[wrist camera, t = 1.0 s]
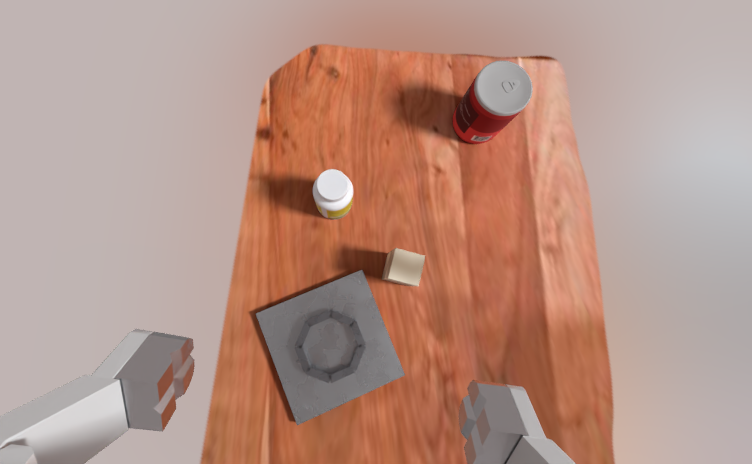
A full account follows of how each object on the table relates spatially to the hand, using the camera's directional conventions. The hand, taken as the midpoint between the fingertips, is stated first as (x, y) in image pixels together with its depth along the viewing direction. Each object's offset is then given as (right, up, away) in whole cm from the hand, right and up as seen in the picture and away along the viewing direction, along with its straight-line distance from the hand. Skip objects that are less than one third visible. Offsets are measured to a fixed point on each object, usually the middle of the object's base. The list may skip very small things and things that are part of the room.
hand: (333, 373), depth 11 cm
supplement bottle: (-5, +9, +44) cm, 45 cm away
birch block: (+4, -2, +44) cm, 44 cm away
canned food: (+17, +22, +48) cm, 56 cm away
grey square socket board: (-5, -12, +41) cm, 43 cm away
